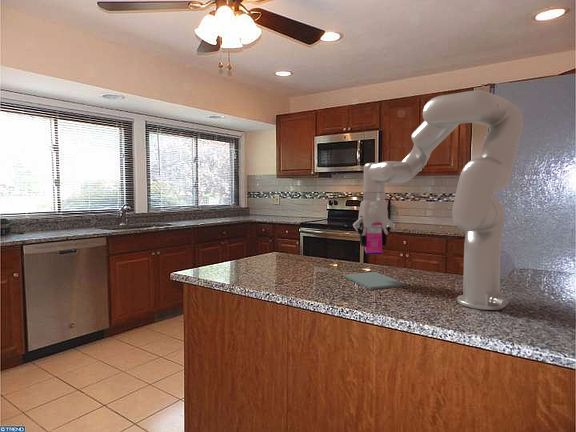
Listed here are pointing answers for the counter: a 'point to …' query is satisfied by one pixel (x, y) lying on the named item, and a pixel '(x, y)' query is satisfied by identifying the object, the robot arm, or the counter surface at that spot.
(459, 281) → the counter surface
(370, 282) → the rubber mat
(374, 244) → the supplement box
